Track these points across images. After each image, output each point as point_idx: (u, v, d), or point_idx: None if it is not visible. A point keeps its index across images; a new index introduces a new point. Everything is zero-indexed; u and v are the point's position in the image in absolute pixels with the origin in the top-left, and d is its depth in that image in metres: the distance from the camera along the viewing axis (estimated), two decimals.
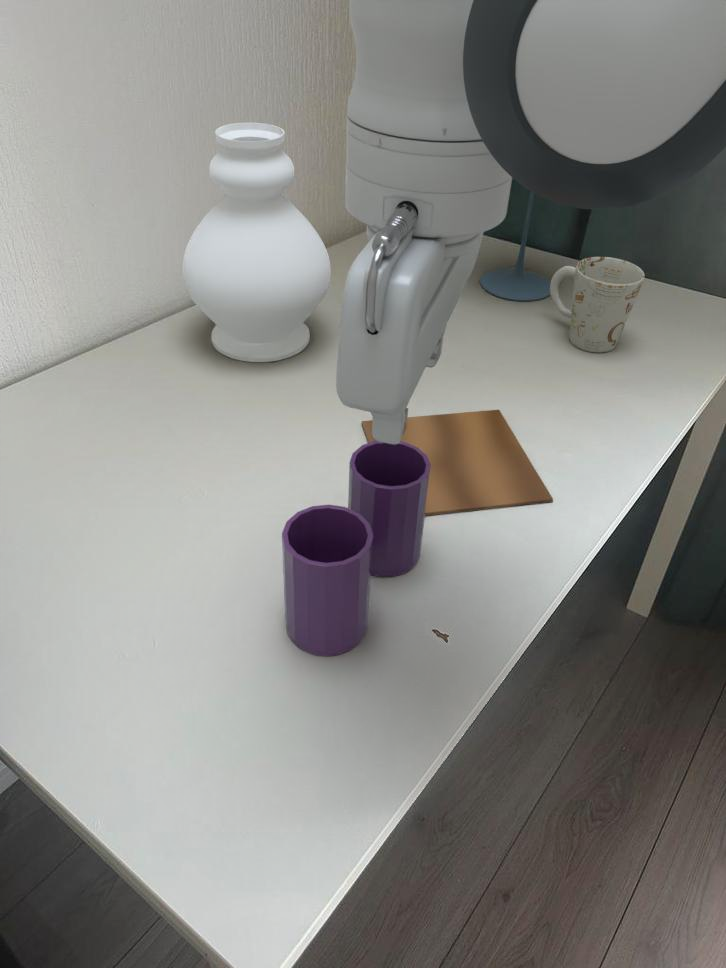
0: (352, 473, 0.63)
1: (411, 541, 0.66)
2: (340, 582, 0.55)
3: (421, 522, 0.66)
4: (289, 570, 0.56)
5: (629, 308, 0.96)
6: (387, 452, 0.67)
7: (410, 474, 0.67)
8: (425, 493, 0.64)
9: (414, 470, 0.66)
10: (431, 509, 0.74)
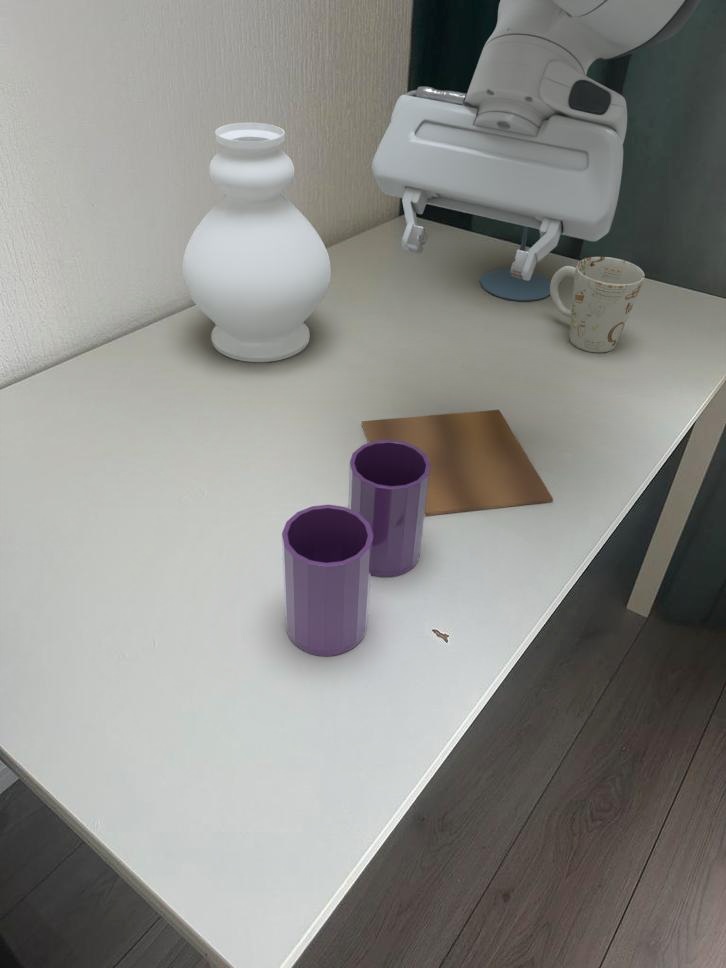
0: (352, 473, 0.63)
1: (411, 541, 0.66)
2: (340, 582, 0.55)
3: (421, 522, 0.66)
4: (289, 570, 0.56)
5: (629, 308, 0.96)
6: (387, 452, 0.67)
7: (410, 474, 0.67)
8: (425, 493, 0.64)
9: (414, 470, 0.66)
10: (431, 509, 0.74)
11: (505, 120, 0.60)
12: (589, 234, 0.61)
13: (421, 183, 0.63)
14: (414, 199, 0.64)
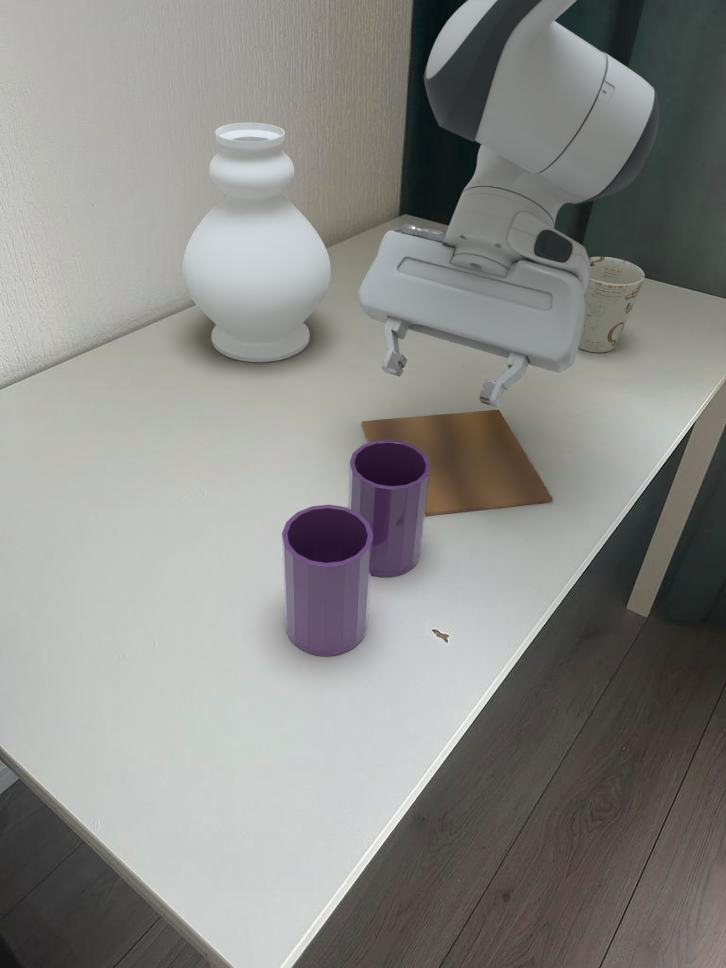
0: (352, 473, 0.63)
1: (411, 541, 0.66)
2: (340, 582, 0.55)
3: (421, 522, 0.66)
4: (289, 570, 0.56)
5: (629, 308, 0.96)
6: (387, 452, 0.67)
7: (410, 474, 0.67)
8: (425, 493, 0.64)
9: (414, 470, 0.66)
10: (431, 509, 0.74)
11: (477, 263, 0.66)
12: (553, 367, 0.65)
13: (401, 314, 0.69)
14: (395, 328, 0.69)
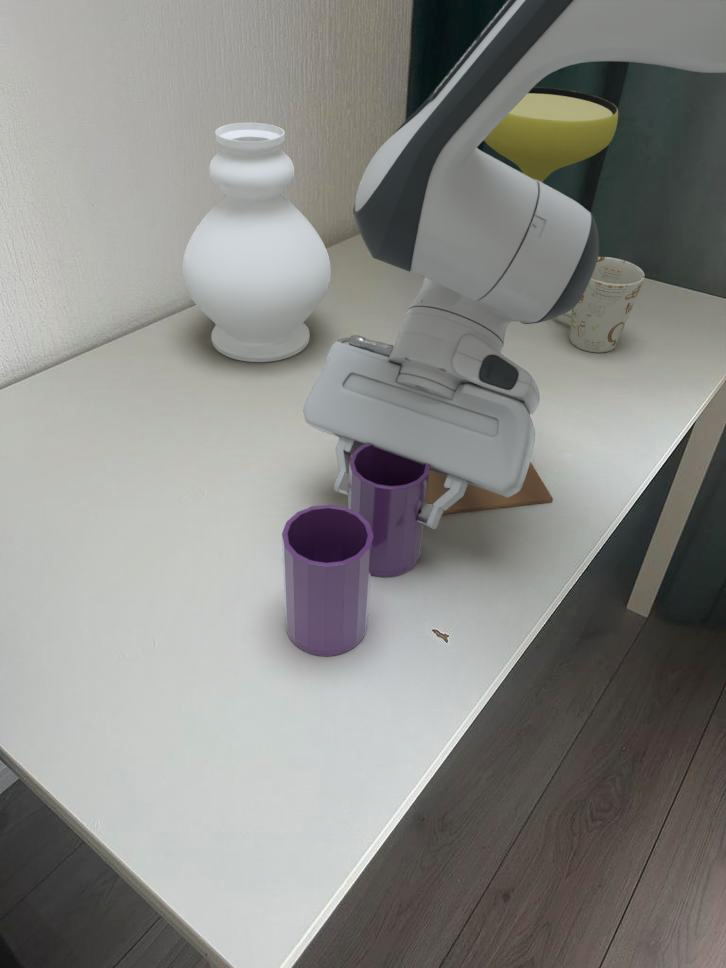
0: (352, 473, 0.63)
1: (411, 541, 0.66)
2: (340, 582, 0.55)
3: None
4: (289, 570, 0.56)
5: (629, 308, 0.96)
6: (387, 452, 0.67)
7: (410, 474, 0.67)
8: (425, 493, 0.64)
9: (414, 470, 0.66)
10: None
11: (421, 385, 0.64)
12: (500, 493, 0.63)
13: (346, 433, 0.67)
14: (347, 448, 0.67)
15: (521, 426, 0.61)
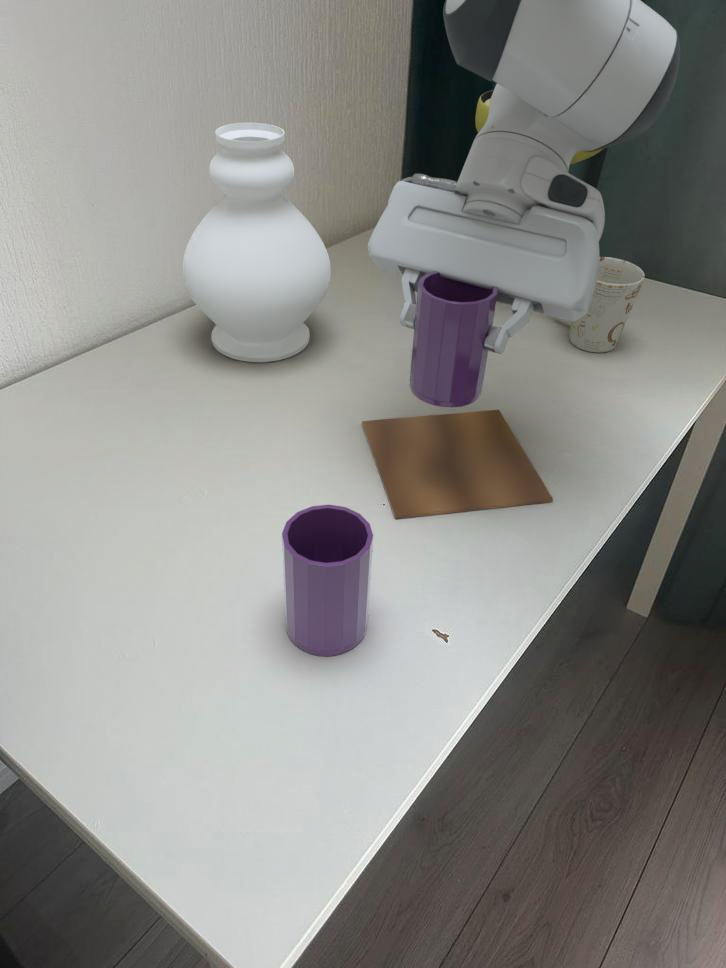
0: (422, 293, 0.64)
1: (476, 368, 0.67)
2: (340, 582, 0.55)
3: (486, 350, 0.67)
4: (289, 570, 0.56)
5: (629, 308, 0.96)
6: (452, 282, 0.68)
7: None
8: (492, 316, 0.65)
9: (479, 299, 0.67)
10: (431, 509, 0.74)
11: (489, 209, 0.65)
12: (567, 315, 0.64)
13: (412, 264, 0.68)
14: (412, 280, 0.68)
15: (590, 243, 0.62)
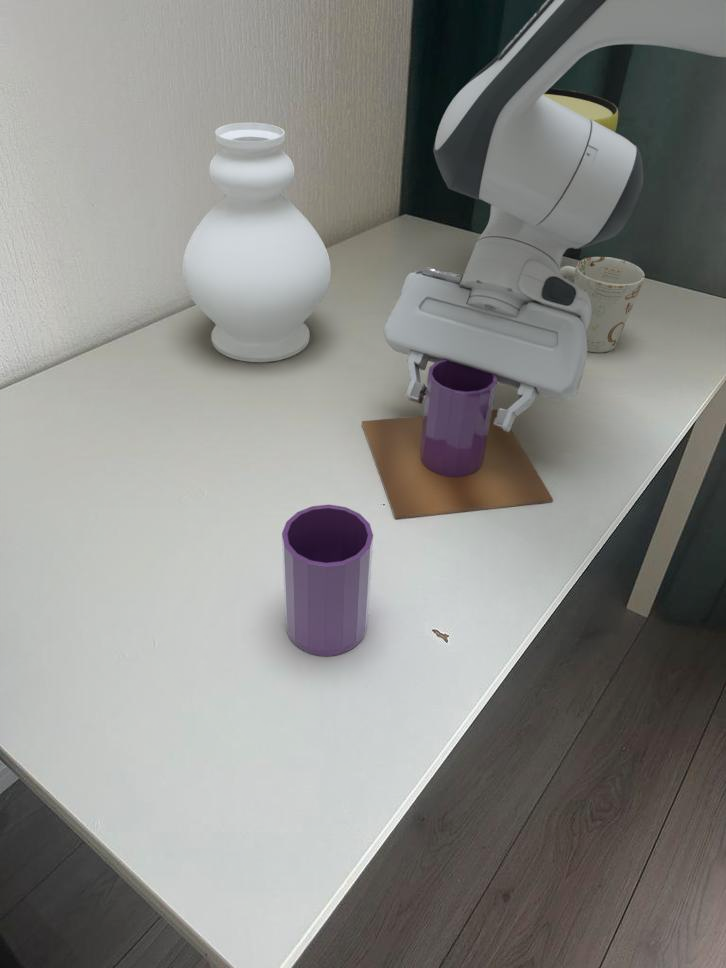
0: (431, 382, 0.73)
1: (478, 444, 0.76)
2: (340, 582, 0.55)
3: (487, 428, 0.76)
4: (289, 570, 0.56)
5: (629, 308, 0.96)
6: (457, 368, 0.77)
7: (477, 388, 0.78)
8: (492, 400, 0.74)
9: (481, 383, 0.77)
10: (431, 509, 0.74)
11: (491, 304, 0.74)
12: (558, 397, 0.74)
13: (423, 349, 0.77)
14: (417, 360, 0.78)
15: (578, 336, 0.72)
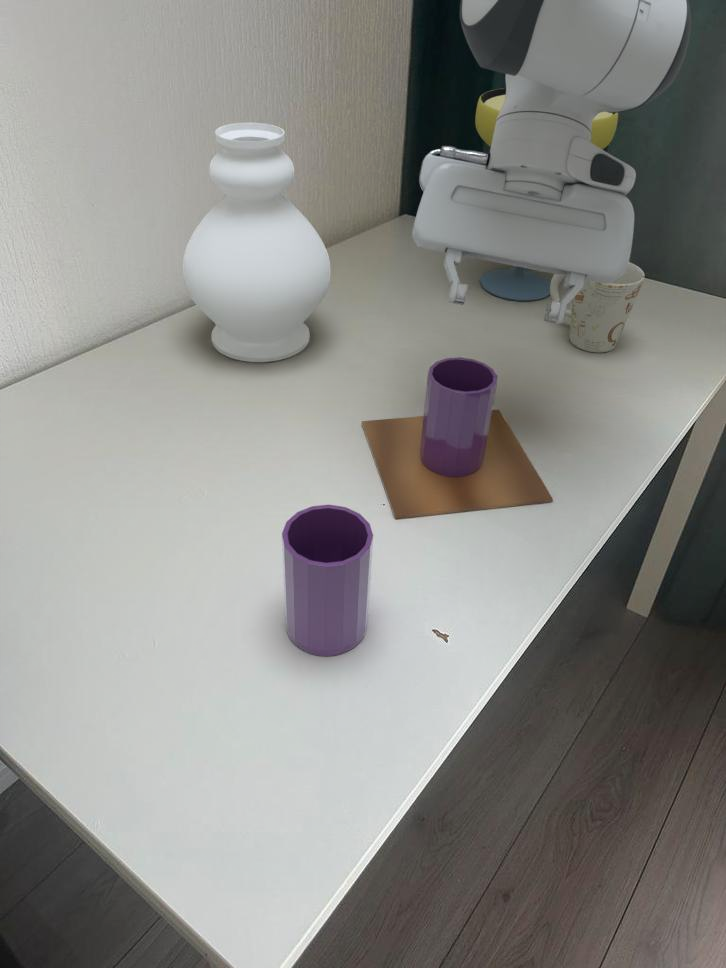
0: (431, 382, 0.73)
1: (478, 444, 0.76)
2: (340, 582, 0.55)
3: (487, 428, 0.76)
4: (289, 570, 0.56)
5: (629, 308, 0.96)
6: (457, 368, 0.77)
7: (477, 388, 0.78)
8: (492, 400, 0.74)
9: (481, 383, 0.77)
10: (431, 509, 0.74)
11: (537, 191, 0.69)
12: (605, 281, 0.73)
13: (463, 246, 0.71)
14: (456, 259, 0.72)
15: (629, 218, 0.70)
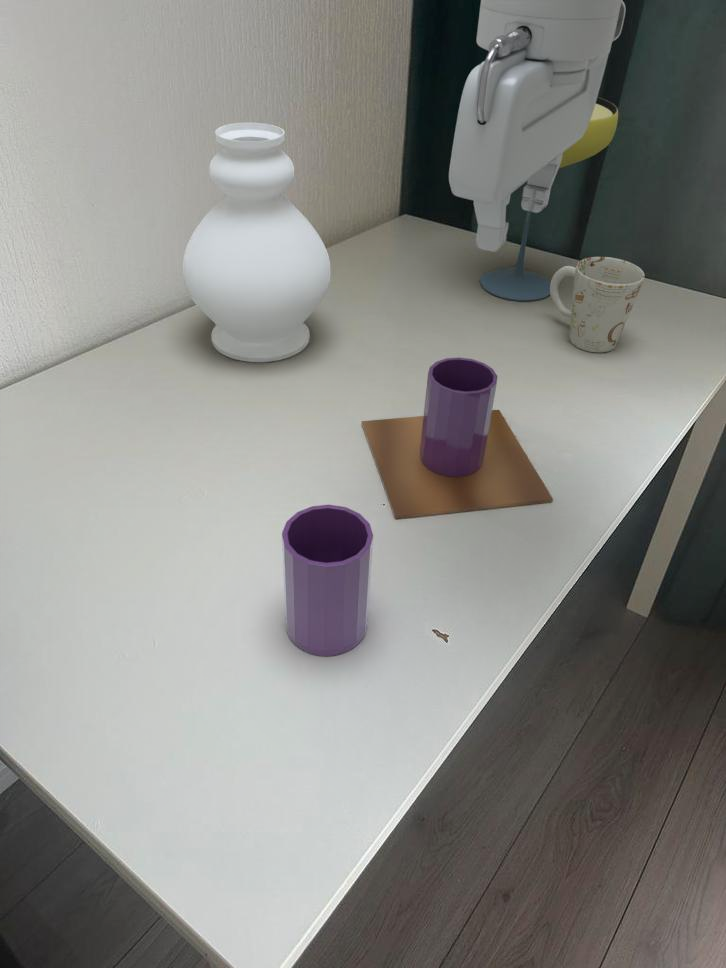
0: (431, 382, 0.73)
1: (478, 444, 0.76)
2: (340, 582, 0.55)
3: (487, 428, 0.76)
4: (289, 570, 0.56)
5: (629, 308, 0.96)
6: (457, 368, 0.77)
7: (477, 388, 0.78)
8: (492, 400, 0.74)
9: (481, 383, 0.77)
10: (431, 509, 0.74)
11: (583, 80, 0.51)
12: None
13: (521, 184, 0.52)
14: (508, 200, 0.53)
15: (605, 66, 0.58)
